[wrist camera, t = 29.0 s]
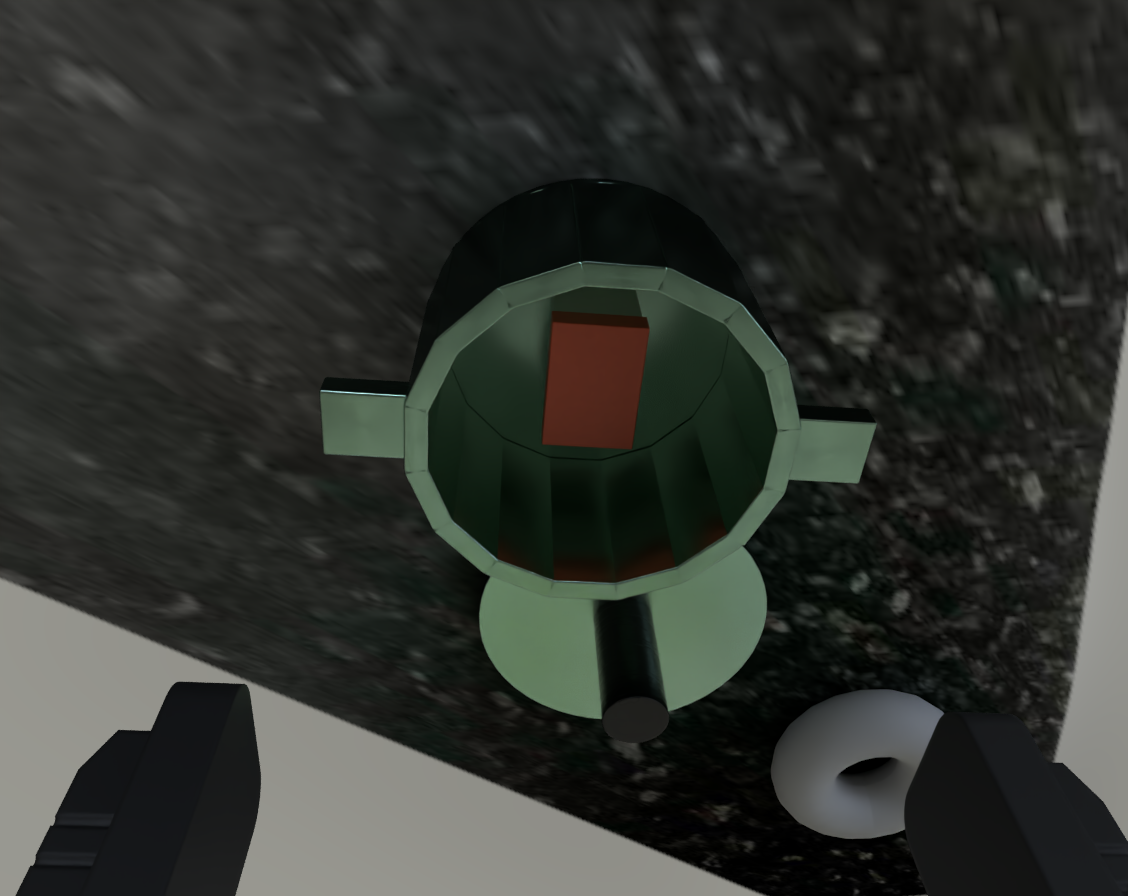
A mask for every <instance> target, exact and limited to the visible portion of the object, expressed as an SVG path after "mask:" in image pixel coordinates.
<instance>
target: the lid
mask: <svg viewBox="0 0 1128 896" xmlns="http://www.w3.org/2000/svg"><path fill="white" fill-rule="evenodd" d="M766 614H767V594H766V588H765V583H764V580H763V577H762V574H761V572H760V569H759V566H758V564H757V562H756V560H755V558H754V557H753V555H752V553H751V551H750V550H749V549H748V548H747V547H746V545H743V546H742V547H741V548H739V549H738V550H736V551H734V552H733V553H731V554H730V555H728V556H727V557H725V558H723V559H722V560H720V561H719V562H717V563H715V564H714V565H712V566H711V567H709V568H708V569H706V570H704V571H703V572H701V573H700V574H698V575H697V576H695V577H693V578H692V579H690V580H689V581H687V582H684V583H682V584H679V585H675V586H671V587H667V588H663V589H659V590H655V591H652V592H648V593H644V594H640V595H636V596H632V597H628V598H625V599H621V600H618V599H617V600H597V599H574V598H551V597H545V596H543V595H540V594H537V593H535V592H532V591H529V590H527V589H524V588H521V587H518V586H516V585H513V584H510V583H508V582H505V581H502V580H499V579H497V578H494V577H491V576H489V575H488V576H487V578H486V580H485V583H484V586H483V589H482V593H481V598H480V605H479V629H480V634H481V638H482V642H483V645H484V647H485V650H486V652H487V655H488V656H489V658H490V660H491V661H492V663H493V665H494V666H495V668H496V669H497V670H498V671H499V673H500V674H501V675H502V676H503V677H504V678H505V679H506V680H507V681H508V682H509V683H510V684H511V685H512V686H513V687H514V688H516V689H517V690H518V691H520V692H521V693H523V694H524V695H526V696H527V697H529V698H531V699H532V700H534V701H536V702H538V703H540V704H542V705H544V706H547V707H549V708H552V709H555V710H557V711H560V712H564V713H568V714H571V715H576V716H581V717H587V718H595V719H602V725H603V728H604V730H605V731H606V732H607V734H609V735H610V736H611V737H612V738H614V739H616V740H619V741H622V742H628V743H638V742H644V741H648V740H650V739H653V738H655V737H656V736H658V735H659V734H661V733H662V732H663V731H664V730H665V728H666V726H667V724H668V721H669V713H668V711H672V710H675V709H678V708H681V707H683V706H686V705H688V704H691V703H693V702H695V701H697V700H699V699H701V698H703V697H705V696H706V695H708V694H710V693H711V692H713V691H714V690H716V689H717V688H719V687H720V686H722V685H723V684H724V683H725V682H726V681H728V680H729V679H730V678H731V677H733V675H734V674H735V673H736V672H737V671H738V670H739V669H740V668H741V667H742V666H743V665H744V664H745V662H746V661H747V660H748V658H749V657H750V656H751V654H752V653H753V651H754V649H755V647H756V645H757V644H758V642H759V640H760V637H761V634H762V631H763V629H764V625H765V620H766Z"/></svg>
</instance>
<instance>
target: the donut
mask: <svg viewBox="0 0 1128 896" xmlns="http://www.w3.org/2000/svg"><path fill="white" fill-rule="evenodd" d="M942 715H944V713H943V712H942V711H941V710H939V709H938V708H936V707H935V706H933V705H931V704H930V703H928V702H926V701H925V700H923V699H921V698H920V697H918V696H916V695H912V694H907V693H903V692H899V691H895V690H888V689H879V690H858V691H853V692H849V693H845V694H840V695H836V696H833V697H831V698H829V699H827V700H825V701H823V702H821V703H818V704H816V705H814V706H812V707H811V708H809V709H808V710H807V711H806V712H804V713H803V714H802V715H801V716H799V717H798V718H797V719H796V720H794V721H793V722H792V723H791V724H790V725H789V726H788V727H787V729H786V730H785V732H784V733H783V735H782V736H781V738H780V739H779V741H778V742H777V745H776V747H775V751H774V756H773V761H772V766H771V777H772V781H773V784H774V788H775V791H776V795H777V797H778V799H779V801H780V803H781V804H782V805H783V806H784V807H785V808H786V810H787V811H788V812H789V813H790V814H791V815H792V816H793V817H794V818H795V819H796V820H797V821H798V822H799V823H801V824H803V825H805V826H807V827H809V828H811V829H813V830H815V831H817V832H819V833H822V834H825V835H830V836H835V837H841V838H846V839H854V838H874V837H879V836H884V835H888V834H893V833H897V832H899V831H902V830H904V829H905V823H904V806H905V799H906V794H907V792H908V789H909V787H910V784H911V782H912V780H913V778H914V775H915V773H916V771H917V768H918V766H919V764H920V762H921V759H922V757H923V755H924V752H925V750H926V748H927V746H928V743H929V741H930V739H931V736H932V734H933V732H934V730H935V727H936V725H937V723H938V721H939V719H940V718H941V717H942ZM876 757H892V758H891V759H890V760H889V761H887V762H886V763H885V764H883V765H881V766H879V767H877V768H875V769H872V770H870V771H865V772H861V773H845V774H844V773H840V772H842V771H843V770H844V769H846V768H847V767H848V766H850V765H853V764H855V763H857V762H859V761H862V760H867V759H871V758H876Z"/></svg>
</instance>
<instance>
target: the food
mask: <svg viewBox="0 0 1128 896" xmlns="http://www.w3.org/2000/svg"><path fill="white" fill-rule="evenodd" d="M649 331H650V328H649V324H648V320H647V317H642V313H641V309H640V305H639V301H638V297H637V293H636V290H625V289H611V288H596V287H582V288H579V289H575V290H572V291H569V292H566V293H562V294H559V295H556V296H553V297H551V309H550V321H549V333H548V345H547V357H546V369H545V381H544V408H543V420H542V444H543V445H561V446H579V447H597V448H615V449H632V447H633V440H634V433H635V426H636V420H637V413H638V406H639V399H640V393H641V386H642V379H643V372H644V365H645V359H646V352H647V345H648V338H649Z"/></svg>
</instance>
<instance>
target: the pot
mask: <svg viewBox="0 0 1128 896" xmlns="http://www.w3.org/2000/svg"><path fill="white" fill-rule="evenodd" d="M582 287H596V288H611V289H625V290H636V293H637V297H638V301H639V305H640V309H641V313H642V317H647V320H648V324H649V328H650V331H649V338H648V345H647V352H646V359H645V365H644V372H643V379H642V386H641V393H640V399H639V406H638V413H637V420H636V426H635V433H634V440H633V447H632V449H615V448H597V447H579V446H561V445H543V444H542V420H543V408H544V381H545V369H546V357H547V345H548V333H549V321H550V309H551V297H553V296H556V295H559V294H562V293H566V292H569V291H572V290H575V289H579V288H582ZM319 396H320V412H321V428H322V443H323V453H324V454H330V455H349V456H367V457H386V458H404V471H405V475H406V477H407V479H408V481H409V483H410V485H411V487H412V489H413V491H414V493H415V495H416V497H417V499H418V501H419V503H420V505H421V507H422V509H423V511H424V513H425V515H426V517H427V519H428V521H429V523H430V525H431V527H432V529H433V530H434V532H435V533H436V534H437V535H439V536H440V537H441V538H442V539H443V540H445V541H446V542H447V543H448V544H449V545H450V546H452V547H453V548H454V549H455V550H456V551H457V552H459V553H460V554H461V555H462V556H463V557H465V558H466V559H467V560H468V561H469V562H470V563H472V564H473V565H474V566H475V567H476V568H478V569H479V570H480V571H481V572H482V573H485V574H486V575H489V576H491V577H494V578H497V579H499V580H502V581H505V582H508V583H510V584H513V585H516V586H518V587H521V588H524V589H527V590H529V591H532V592H535V593H537V594H540V595H543V596H545V597H551V598H574V599H597V600H617V599H618V600H621V599H625V598H628V597H632V596H636V595H640V594H644V593H648V592H652V591H655V590H659V589H663V588H667V587H671V586H675V585H679V584H682V583H684V582H687V581H689V580H690V579H692V578H693V577H695V576H697V575H698V574H700V573H701V572H703V571H704V570H706V569H708V568H709V567H711V566H712V565H714V564H715V563H717V562H719V561H720V560H722V559H723V558H725V557H727V556H728V555H730V554H731V553H733V552H734V551H736V550H738V549H739V548H741V547H742V546H743V545H745V544H746V543H747V541H748V540H749V539H750V538H751V536H752V535H753V534H754V532H755V531H756V530H757V529H758V527H759V526H760V525H761V523H762V522H763V521H764V520H765V518H766V517H767V516H768V514H769V513H770V512H771V510H772V509H773V508H774V507H775V505H776V504H777V503H778V501H779V500H780V499H781V498H782V496H783V495H784V494H785V491H786V488H787V484H788V480H804V481H823V482H841V483H859V480H860V477H861V474H862V470H863V467H864V464H865V461H866V457H867V454H868V451H869V448H870V444H871V441H872V438H873V435H874V432H875V428H876V425H877V423H876V422H875V420H874V418H873V417H872V415H871V414H870V412H869V410H868V409H858V408H842V407H825V406H808V405H797V401H796V396H795V391H794V386H793V382H792V377H791V372H790V367H789V363H788V361H787V358H786V356H785V354H784V352H783V351H782V349H781V347H780V345H779V343H778V341H777V339H776V337H775V335H774V333H773V331H772V329H771V328H770V326H769V324H768V322H767V320H766V318H765V316H764V314H763V312H762V310H761V308H760V306H759V304H758V303H757V301H756V299H755V297H754V295H753V293H752V291H751V289H750V287H749V285H748V283H747V281H746V280H745V278H744V276H743V274H742V272H741V270H740V268H739V266H738V264H737V263H736V262H735V261H734V259H733V258H732V257H731V255H730V254H729V253H728V252H727V250H726V249H725V248H724V246H723V245H722V243H721V242H720V240H719V239H718V237H717V236H716V235H715V234H714V233H713V232H712V231H711V229H710V228H709V227H708V226H707V225H706V223H705V222H704V221H703V220H702V218H701V217H699V216H698V215H696V214H694V213H693V212H691V211H690V210H689V209H688V208H686V207H684V206H683V205H681V204H680V203H678V202H676V201H675V200H673V199H671V198H670V197H668V196H666V195H663V194H661V193H659V192H656V191H654V190H652V189H650V188H647V187H643V186H640V185H636V184H632V183H629V182H624V181H617V180H610V179H574V180H566V181H559V182H555V183H551V184H547V185H543V186H539V187H536V188H533V189H531V190H529V191H526V192H524V193H521V194H519V195H516V196H514V197H513V198H511V199H509V200H507V201H506V202H504V203H502V204H500V205H498V206H497V207H495V208H494V209H493V210H491V211H490V212H489V213H487V214H486V215H485V216H483V217H482V218H481V219H480V220H478V221H477V222H476V223H475V224H474V225H473V226H472V227H471V228H470V229H469V230H468V231H467V232H466V233H465V234H464V236H463V237H462V238H461V240H460V241H459V242H458V243H456V244H455V246H454V247H453V248H452V251H451V253H450V255H449V257H448V259H447V260H446V262H445V264H444V266H443V267H442V269H441V272H440V274H439V277H438V279H437V282H436V285H435V287H434V289H433V291H432V293H431V295H430V297H429V299H428V302H427V306H426V311H425V315H424V319H423V324H422V328H421V332H420V336H419V341H418V345H417V349H416V353H415V358H414V362H413V366H412V371H411V375H410V379H409V382H400V381H383V380H367V379H350V378H333V377H326V378H325V379H324V381H323V384H322V386H321V389H320V391H319Z"/></svg>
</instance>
